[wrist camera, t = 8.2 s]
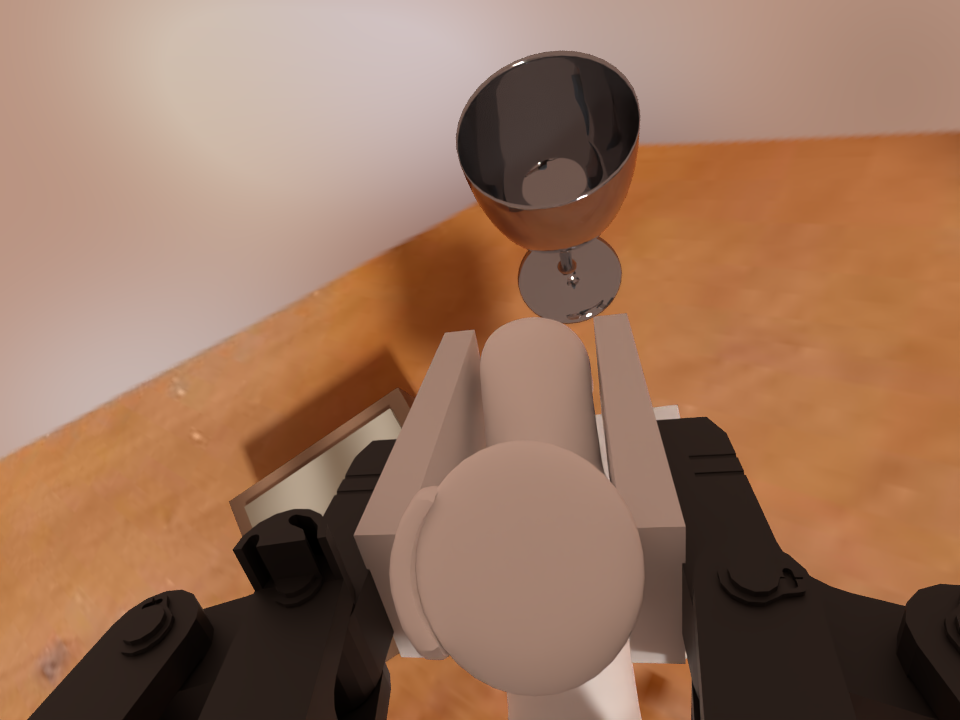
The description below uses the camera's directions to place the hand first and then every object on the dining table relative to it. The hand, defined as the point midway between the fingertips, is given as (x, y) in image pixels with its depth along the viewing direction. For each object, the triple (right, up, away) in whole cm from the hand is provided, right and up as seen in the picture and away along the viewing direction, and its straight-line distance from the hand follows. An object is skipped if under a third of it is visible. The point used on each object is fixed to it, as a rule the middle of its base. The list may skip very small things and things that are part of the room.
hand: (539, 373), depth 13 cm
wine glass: (+5, +6, +24) cm, 25 cm away
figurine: (+3, -6, +7) cm, 10 cm away
